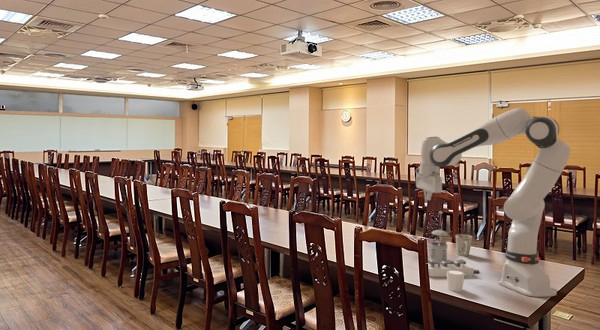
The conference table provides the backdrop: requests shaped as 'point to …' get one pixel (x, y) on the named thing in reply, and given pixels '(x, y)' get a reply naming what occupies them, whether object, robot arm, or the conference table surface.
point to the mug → (463, 244)
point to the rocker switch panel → (442, 270)
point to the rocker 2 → (459, 262)
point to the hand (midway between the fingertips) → (427, 199)
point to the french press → (436, 250)
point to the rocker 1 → (433, 262)
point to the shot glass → (455, 280)
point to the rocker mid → (446, 262)
